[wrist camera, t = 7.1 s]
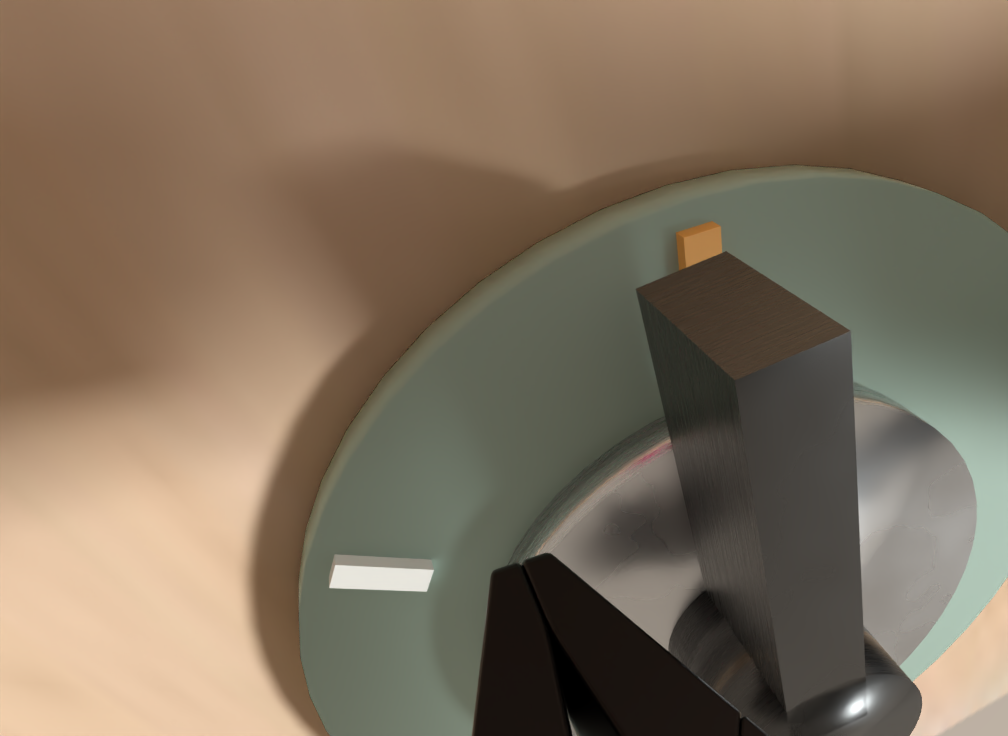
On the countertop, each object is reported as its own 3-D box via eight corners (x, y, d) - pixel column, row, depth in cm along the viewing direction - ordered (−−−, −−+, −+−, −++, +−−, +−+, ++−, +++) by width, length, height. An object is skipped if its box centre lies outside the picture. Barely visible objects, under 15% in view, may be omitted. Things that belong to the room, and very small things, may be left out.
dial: (936, 638, 21) (1062, 768, 17) (562, 809, 20) (616, 980, 17) (962, 122, 12) (1212, 177, 9) (327, 383, 12) (339, 548, 8)
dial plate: (1184, 276, 18) (1243, 296, 17) (814, 778, 26) (837, 814, 25) (424, 20, 11) (438, 24, 10) (237, 822, 19) (233, 875, 18)
